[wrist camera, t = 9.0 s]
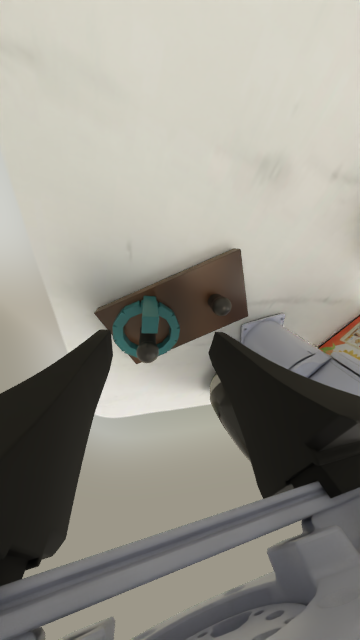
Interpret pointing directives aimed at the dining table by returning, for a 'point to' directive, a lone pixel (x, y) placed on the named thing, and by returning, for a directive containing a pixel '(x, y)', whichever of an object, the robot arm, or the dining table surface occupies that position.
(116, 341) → the ring
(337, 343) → the cracker box
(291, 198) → the dining table surface
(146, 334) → the peg rack
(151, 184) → the dining table surface
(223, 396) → the pump dispenser
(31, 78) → the dining table surface
